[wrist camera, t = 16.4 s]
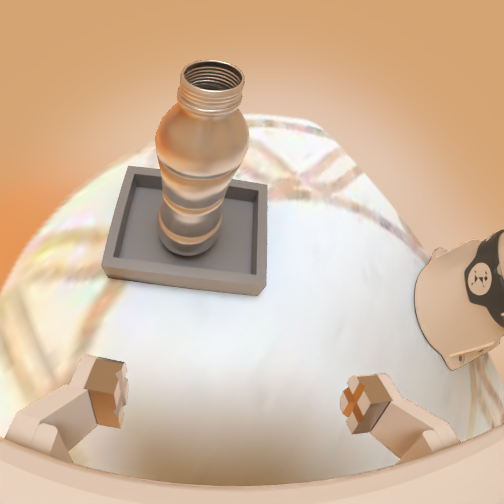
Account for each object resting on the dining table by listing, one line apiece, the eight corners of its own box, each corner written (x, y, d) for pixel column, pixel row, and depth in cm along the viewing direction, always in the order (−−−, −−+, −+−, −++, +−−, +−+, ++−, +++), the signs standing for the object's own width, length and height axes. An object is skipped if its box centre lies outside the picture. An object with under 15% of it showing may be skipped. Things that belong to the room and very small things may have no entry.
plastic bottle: (147, 223, 32) (138, 61, 15) (201, 200, 35) (234, 44, 17) (174, 273, 31) (181, 122, 13) (230, 245, 34) (292, 96, 16)
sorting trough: (259, 201, 38) (267, 185, 35) (257, 295, 33) (266, 285, 30) (130, 184, 35) (128, 165, 32) (108, 277, 30) (101, 265, 27)
